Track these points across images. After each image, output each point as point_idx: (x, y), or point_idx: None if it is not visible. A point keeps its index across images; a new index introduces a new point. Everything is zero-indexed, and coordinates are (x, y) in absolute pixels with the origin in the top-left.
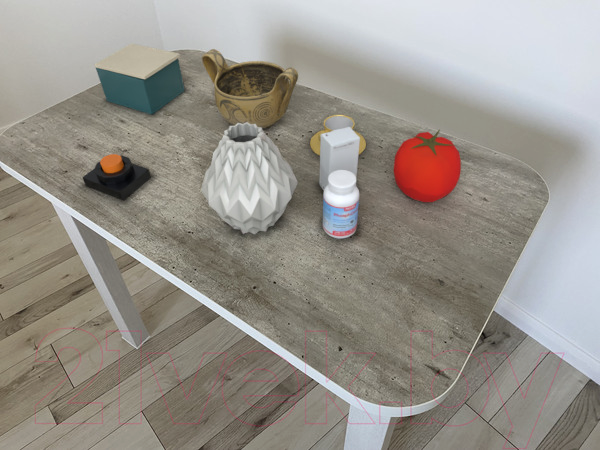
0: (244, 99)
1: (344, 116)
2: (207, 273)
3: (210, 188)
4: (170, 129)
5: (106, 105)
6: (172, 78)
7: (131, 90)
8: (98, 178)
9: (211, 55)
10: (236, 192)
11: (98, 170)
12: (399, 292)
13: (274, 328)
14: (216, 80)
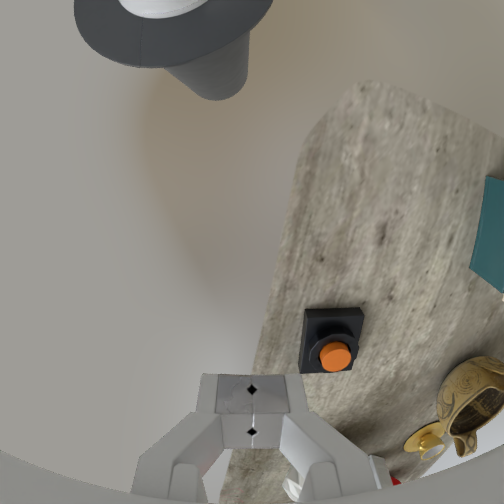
0: (447, 429)
1: (442, 448)
2: (248, 451)
3: (296, 485)
4: (442, 313)
5: (477, 183)
6: None
7: (496, 252)
8: (309, 346)
9: None
10: (294, 499)
11: (319, 347)
12: (286, 499)
13: (230, 481)
14: (484, 389)
